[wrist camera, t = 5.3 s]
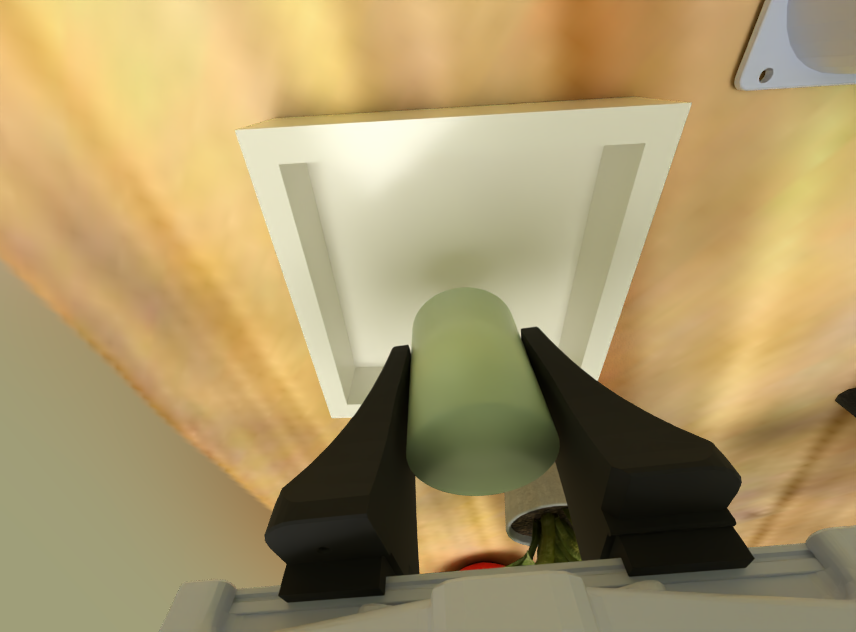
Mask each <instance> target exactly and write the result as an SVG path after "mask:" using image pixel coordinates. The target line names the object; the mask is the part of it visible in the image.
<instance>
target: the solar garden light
mask: <svg viewBox="0 0 856 632" xmlns="http://www.w3.org/2000/svg"><path fill="white" fill-rule="evenodd" d="M835 401H836V402H837V403H838V404H840V405H841V406H842V407H843V408H845V409H846V410H847V411H849V412H850V413H851V414H852V415H854V416H855V417H856V389H850V390H847V391H846V392H844V393H842V394H840V395H839V396H838V397H837V399H836V400H835Z"/></svg>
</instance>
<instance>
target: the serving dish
mask: <svg viewBox="0 0 856 632" xmlns="http://www.w3.org/2000/svg"><path fill="white" fill-rule="evenodd" d="M691 104H692V103H691V102H681V101H672V100H663V99H653V98H644V97H634V96H632V97H616V98H599V99H582V100H566V101H549V102H533V103H516V104H500V105H483V106H467V107H450V108H434V109H417V110H401V111H384V112H368V113H351V114H334V115H318V116H301V117H285V118H273V119H270V120H267V121H263V122H260V123H257V124H253V125H250V126H247V127H243V128H240V129H236V130H235V132H236V135H237V138H238V141H239V144H240V147H241V150H242V153H243V156H244V159H245V162H246V165H247V168H248V171H249V174H250V177H251V180H252V183H253V186H254V189H255V192H256V195H257V198H258V201H259V204H260V207H261V210H262V213H263V216H264V219H265V222H266V225H267V228H268V230H269V233H270V236H271V239H272V242H273V245H274V248H275V251H276V254H277V257H278V260H279V263H280V266H281V269H282V272H283V275H284V278H285V281H286V284H287V287H288V290H289V293H290V296H291V299H292V302H293V305H294V308H295V311H296V314H297V317H298V320H299V323H300V326H301V329H302V332H303V335H304V338H305V340H306V343H307V346H308V349H309V352H310V355H311V358H312V361H313V364H314V367H315V370H316V373H317V376H318V379H319V382H320V385H321V388H322V391H323V394H324V397H325V400H326V403H327V406H328V409H329V412H330V415H331V418H349V417H353V416H354V415H355V413H356V412H357V410H358V409H359V408H360V406H361V405H362V403H363V402H364V400H365V398H366V397H367V395H368V394H369V392H370V390H371V389H372V387H373V385H374V384H375V382H376V380H377V378H378V376H379V375H380V373H381V371H382V369H383V367H384V365H385V363H386V361H387V359H388V356H389V354H390V352H391V350H392V348H393V347H395V346H402V345H409V348H410V352H411V346H412V328H413V322H414V319H415V317H416V314H417V313H418V311H419V310H420V308H421V307H422V306H423V305H424V304H425V303H426V302H427V301H428V300H429V299H431V298H432V297H434V296H435V295H437V294H439V293H441V292H444V291H447V290H450V289H454V288H462V287H471V288H478V289H482V290H485V291H488V292H490V293H492V294H494V295H496V296H497V297H499V298H500V299H501V300H502V301H503V302H504V303H505V304H506V305H507V307H508V308H509V310H510V312H511V314H512V316H513V319H514V322H515V324H516V327H517V329H518V332H519V335H520V337H521V329H522V328H529V327H536V326H537V327H538V328H540V330H541V331H542V332H543V333H544V334H545V335H546V336H547V337H548V338H549V339H550V340H551V341H552V342H553V343H554V344H555V345H556V346H557V347H558V348H559V349H560V350H561V351H562V352H563V353H564V354H565V355H567V356H568V357H569V358H570V359H571V360H572V361H573V362H574V363H576V364H577V365H578V366H579V367H580V368H581V369H583V370H584V371H585V372H586V373H588V374H589V375H590V376H591V377H593V378H594V379H595V380H597V381H598V379H599V376H600V373H601V370H602V367H603V364H604V361H605V358H606V355H607V352H608V349H609V346H610V343H611V340H612V337H613V334H614V331H615V328H616V325H617V322H618V320H619V317H620V314H621V311H622V308H623V305H624V302H625V299H626V296H627V293H628V290H629V287H630V284H631V281H632V278H633V275H634V272H635V269H636V266H637V263H638V261H639V258H640V255H641V252H642V249H643V246H644V243H645V240H646V237H647V234H648V231H649V228H650V225H651V222H652V219H653V216H654V213H655V210H656V207H657V204H658V201H659V199H660V196H661V193H662V190H663V187H664V184H665V181H666V178H667V175H668V172H669V169H670V166H671V163H672V160H673V157H674V154H675V151H676V148H677V145H678V142H679V140H680V137H681V134H682V131H683V128H684V125H685V122H686V119H687V116H688V113H689V110H690V107H691Z"/></svg>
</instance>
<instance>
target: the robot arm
mask: <svg viewBox="0 0 856 632" xmlns="http://www.w3.org/2000/svg"><path fill="white" fill-rule="evenodd" d="M764 70H765V71H766V72H765V76H764V77H763V79H762V80H761V81H759V76H760V74H761V73H762V72H763V71H764ZM734 84H735V87H736V88H737V89H738V90H744V91H749V90H766V89H782V88H799V87H816V86H832V85H849V84H856V0H765V2H764V4H763V7H762V10H761V12H760V15H759V17H758V20H757V23H756V25H755V28H754V30H753V33H752V35H751V38H750V41H749V43H748V46H747V48H746V51H745V54H744V56H743V59H742V61H741V64H740V66H739V69H738V72H737V74H736V77H735V81H734ZM521 340H522V342H523V345H524V348H525V350H526V353H527V355H528V358H529V361H530V363H531V366H532V368H533V371H534V374H535V376H536V379H537V381H538V384H539V387H540V389H541V392H542V394H543V397H544V400H545V402H546V405H547V407H548V410H549V413H550V415H551V418H552V420H553V423H554V426H555V428H556V431H557V433H558V437H559V441H560V448H559V453H558V456H557V458H556V460H555V463H556V467H557V470H558V473H559V477H560V481H561V484H562V488H563V491H564V495H565V498H566V502H567V506H568V509H569V513H570V517H571V521H572V524H573V528H574V532H575V536H576V540H577V544H578V548H579V552H580V556H581V560H582V561H576V562H564V563H551V564H539V565H526V566H514V567H501V568H489V569H477V570H464V571H452V572H439V573H427V574H419V559H418V541H417V519H416V489H415V475H414V473H413V472H412V471H411V469H410V467H409V465H408V462H407V459H406V445H407V425H408V405H409V385H410V365H411V352H410V348H409V345H402V346H395V347H393V348H392V350H391V352H390V354H389V356H388V359H387V361H386V363H385V365H384V367H383V369H382V371H381V373H380V375H379V376H378V378H377V380H376V382H375V384H374V385H373V387H372V389H371V390H370V392H369V394H368V395H367V397H366V398H365V400H364V402H363V403H362V405H361V406H360V408H359V409H358V410H357V412H356V413H355V415H354V416H353V417H352V419H351V420H350V421H349V423H348V424H347V425H346V426H345V428H344V429H343V430H342V431H341V432H340V434H339V435H338V436H337V437H336V438H335V439H334V440H333V442H332V443H331V444H330V445H329V446H328V447H327V448H326V449H325V450H324V451H323V452H322V453H321V454H320V455H319V456H318V457H317V458H316V459H315V460H314V461H313V462H312V463H311V464H310V465H309V466H308V467H307V468H306V469H304V470H303V471H302V472H301V473H300V474H299V475H297V476H296V477H295V478H294V479H293V480H292V481H290V482H289V483H288V484H287V485H286V486H284V487H283V488H282V490H281V492H280V495H279V497H278V499H277V501H276V504H275V506H274V509H273V512H272V515H271V518H270V521H269V524H268V527H267V530H266V533H265V541H266V543H267V544H268V546H269V547H270V549H272V550H273V551H274V552H275V553H276V554H277V555H278V556H279V557H280V558H281V559H282V560H283V561H284V562H285V563H286V564H287V565H286V569H285V572H284V576H283V579H282V583H281V585H278V586H266V587H254V588H241V589H236V587H235V586H234V585H233V584H232V583H230V582H228V581H226V580H221V579H210V580H198V581H186V582H184V583H182V584H181V586H180V588H179V590H178V592H177V594H176V596H175V599H174V601H173V603H172V605H171V607H170V609H169V611H168V613H167V616H166V618H165V620H164V622H163V624H162V626H161V629H160V630H159V632H856V525H855V526H843V527H832V528H826V529H822V530H819V531H816V532H815V533H813V534H811V535H810V536H809V537H808V539H807V540H806V543H800V544H787V545H775V546H762V547H750V548H747V546H746V545H745V543H744V542H743V540H742V539H741V538H740V536H739V535H738V533H737V532H736V530H735V529H734V527H733V526H735V525H736V521H735V519H734V517H733V516H732V515H731V513H730V512H729V510H728V509H727V507H728V506H729V504H730V503H731V501H732V500H733V498H734V497H735V495H736V494H737V493H738V491H739V488H740V486H741V483H742V482H741V476H740V475H739V474H738V472H737V471H736V470H735V468H734V467H733V466H732V465H731V463H730V462H729V461H728V460H727V458H726V457H725V456H724V455H723V454H722V453H721V452H720V451H719V450H718V448H717V447H716V446H715V445H714V444H713V443H712V442H710V441H708V440H706V439H703V438H701V437H699V436H696V435H694V434H692V433H690V432H687V431H685V430H683V429H680V428H678V427H676V426H674V425H672V424H669V423H667V422H665V421H663V420H661V419H659V418H657V417H655V416H653V415H652V414H650V413H648V412H646V411H644V410H642V409H641V408H639V407H637V406H635V405H634V404H632V403H630V402H628V401H627V400H625V399H623V398H622V397H620V396H618V395H617V394H615V393H614V392H612V391H611V390H609V389H608V388H607V387H605V386H604V385H602V384H601V383H599V382H598V381H597V380H595V379H594V378H593V377H591V376H590V375H589V374H588V373H586V372H585V371H584V370H583V369H581V368H580V367H579V366H578V365H577V364H576V363H574V362H573V361H572V360H571V359H570V358H569V357H568V356H567V355H565V354H564V353H563V352H562V351H561V350H560V349H559V348H558V347H557V346H556V345H555V344H554V343H553V342H552V341H551V340H550V339H549V338H548V337H547V336H546V335H545V334H544V333H543V332H542V331H541V330H540V328H538V327H537V326H536V327H529V328H522V329H521Z"/></svg>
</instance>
